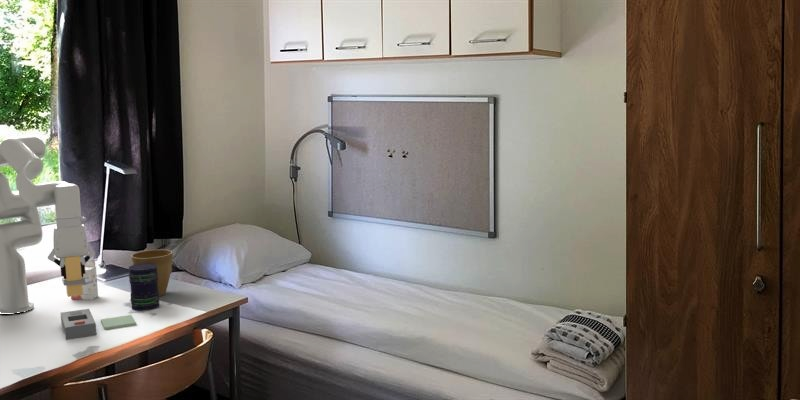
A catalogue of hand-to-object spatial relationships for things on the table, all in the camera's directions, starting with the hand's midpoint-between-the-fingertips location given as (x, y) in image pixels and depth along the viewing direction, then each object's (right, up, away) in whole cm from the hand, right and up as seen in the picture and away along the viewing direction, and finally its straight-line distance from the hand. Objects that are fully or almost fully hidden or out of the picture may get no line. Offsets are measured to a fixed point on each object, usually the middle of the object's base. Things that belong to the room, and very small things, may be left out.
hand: (73, 276), depth 256 cm
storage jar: (+15, -14, +27) cm, 34 cm away
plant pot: (+13, -11, +43) cm, 46 cm away
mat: (+12, -17, +8) cm, 22 cm away
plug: (0, -6, +1) cm, 6 cm away
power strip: (+1, -18, +3) cm, 18 cm away
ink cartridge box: (-12, -12, +40) cm, 43 cm away
